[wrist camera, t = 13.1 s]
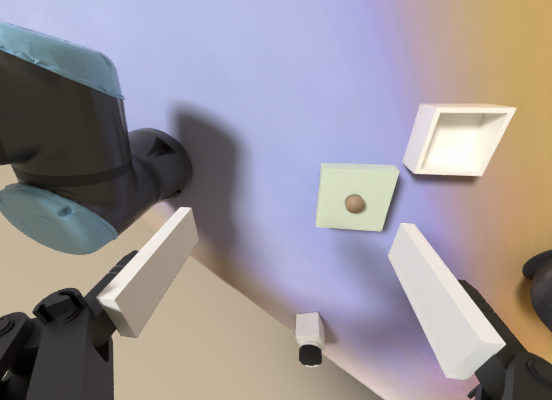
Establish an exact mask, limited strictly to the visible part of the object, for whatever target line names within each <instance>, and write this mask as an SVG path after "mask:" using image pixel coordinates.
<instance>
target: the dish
mask: <svg viewBox="0 0 552 400" xmlns="http://www.w3.org/2000/svg"><path fill="white" fill-rule="evenodd" d="M515 110H516V108H515V107H508V106H501V105H494V104H420V107H419V110H418V113H417V116H416V120H415V123H414V126H413V130H412V133H411V136H410V140H409V143H408V146H407V149H406V153H405V156H404V159H403V164H404V165H405V166H406V167H407V168H408V169H410V170H411V171H412V172H413V173H414V174H437V175H464V176H482V174H483V172H484V170H485V168H486V167H487V165H488V163H489V161H490V159H491V157H492V155H493V153H494V151H495V149H496V147H497V145H498V143H499V141H500V139H501V137H502V136H503V134H504V132H505V130H506V128H507V126H508V124H509V122H510V120H511V118H512V116H513V114H514V112H515Z"/></svg>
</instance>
